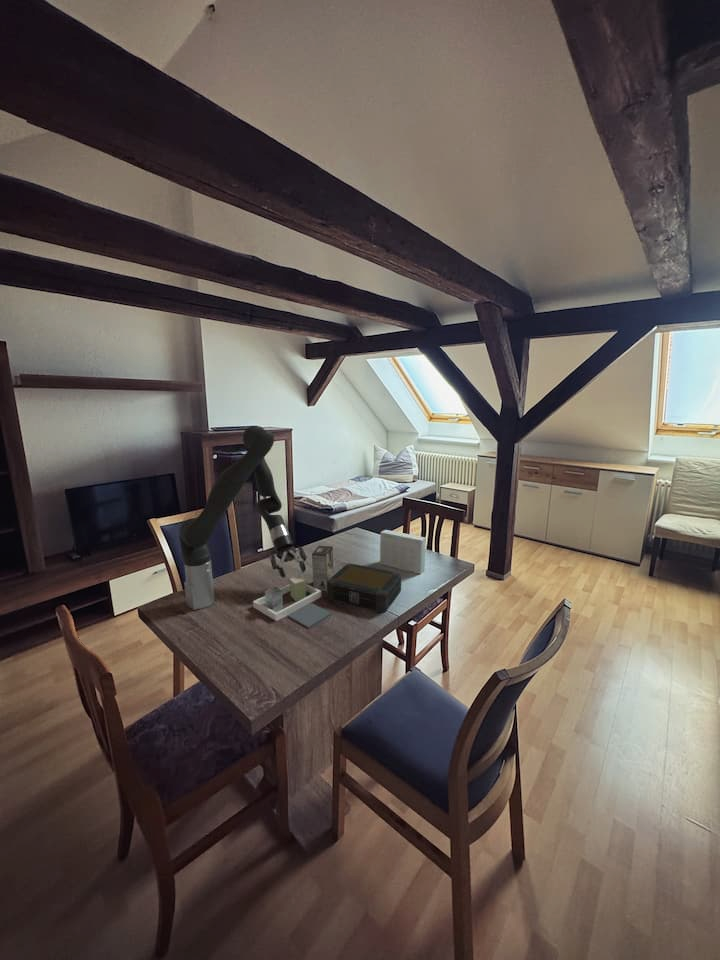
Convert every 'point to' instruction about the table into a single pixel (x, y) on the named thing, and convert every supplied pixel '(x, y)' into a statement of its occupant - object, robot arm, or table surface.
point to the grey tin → (274, 599)
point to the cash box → (364, 587)
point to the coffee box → (322, 566)
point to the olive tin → (297, 588)
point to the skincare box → (402, 551)
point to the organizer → (288, 610)
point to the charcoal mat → (309, 615)
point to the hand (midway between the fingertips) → (294, 574)
